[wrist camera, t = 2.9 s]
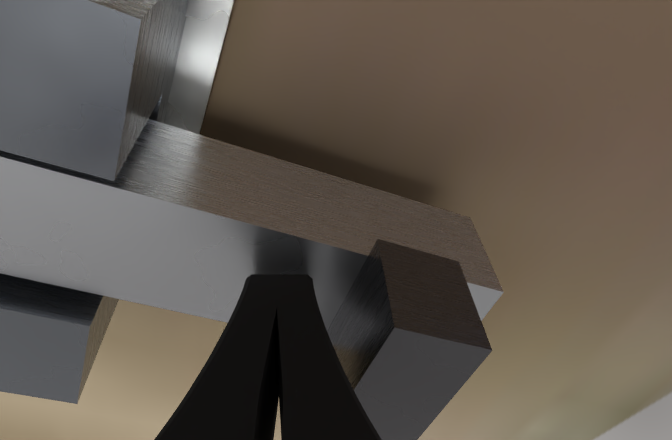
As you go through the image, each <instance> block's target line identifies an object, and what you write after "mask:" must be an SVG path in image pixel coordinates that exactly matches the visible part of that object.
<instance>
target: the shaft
mask: <svg viewBox="0 0 672 440" xmlns="http://www.w3.org/2000/svg"><path fill="white" fill-rule="evenodd" d="M0 273H1V274H6V275H10V276H15V277H19V278H24V279H29V280H33V281H38V282H43V283H47V284H52V285H56V286H61V287H66V288H70V289H75V290H79V291H84V292H89V293H93V294H98V295H103V296H107V297H112V298H116V299H121V300H126V301H130V302H135V303H140V304H144V305H149V306H153V307H158V308H163V309H167V310H172V311H176V312H181V313H186V314H190V315H195V316H200V317H204V318H209V319H213V320H218V321H223V322H227V323H228V322H229V319H230V317H231V315H232V313H233V311H234V309H235V307H236V304H237V302H238V300H239V297H240V295H241V292H242V290H243V287H244V284H245V280H246V278H247V277H249V276H250V275H251V274H308V275H309V276H310V277H311V278H312V279H313V285H314V291H315V295H316V299H317V303H318V306H319V310H320V313H321V316H322V319H323V322H324V324H325V327H326V330H327V332H328V335H329V337H330V340H331V342H332V345H333V347H334V349H335V352H336V354H337V356H338V359H339V361H340V363H341V365H342V367H343V370H344V372H345V374H346V376H347V378H348V380H349V382H350V384H351V386H352V388H353V390H354V392H355V394H356V396H357V398H358V399H359V401H360V403H361V405H362V407H363V409H364V410H365V412H366V414H367V416H368V418H369V419H370V421H371V423H372V424H373V426H374V428H375V429H376V431H377V433H378V434H379V436H380V438H381V439H382V440H417V439H418V438H419V437H420V436H421V435H422V433H423V432H424V431H425V430H426V429H427V427H428V426H429V425H430V424H431V423H432V421H433V420H434V419H435V418H436V417H437V415H438V414H439V413H440V412H441V411H442V410H443V408H444V407H445V406H446V405H447V404H448V402H449V401H450V400H451V399H452V398H453V396H454V395H455V394H456V393H457V392H458V390H459V389H460V388H461V387H462V386H463V385H464V383H465V382H466V381H467V380H468V379H469V377H470V376H471V375H472V374H473V373H474V371H475V370H476V369H477V368H478V367H479V365H480V364H481V363H482V362H483V361H484V360H485V358H486V357H487V356H488V355H489V354H490V352H491V351H492V349H491V346H490V343H489V341H488V338H487V335H486V333H485V330H484V327H483V325H482V322H481V321H482V319H483V318H484V317H485V315H486V314H487V313H488V312H489V310H490V309H491V308H492V306H493V305H494V304H495V303H496V301H497V300H498V299H499V298H500V296H501V295H502V294H503V290H502V287H501V285H500V283H499V281H498V278H497V276H496V274H495V272H494V269H493V267H492V265H491V263H490V261H489V258H488V256H487V254H486V252H485V249H484V247H483V245H482V243H481V240H480V238H479V236H478V234H477V232H476V229H475V227H474V225H473V223H472V220H471V218H470V217H467V216H464V215H460V214H457V213H454V212H451V211H447V210H444V209H441V208H437V207H434V206H431V205H428V204H424V203H421V202H418V201H415V200H411V199H408V198H405V197H402V196H398V195H395V194H392V193H389V192H385V191H382V190H379V189H376V188H372V187H369V186H366V185H363V184H359V183H356V182H353V181H350V180H346V179H343V178H340V177H337V176H333V175H330V174H327V173H324V172H320V171H317V170H314V169H311V168H307V167H304V166H301V165H297V164H294V163H291V162H288V161H284V160H281V159H278V158H275V157H271V156H268V155H265V154H262V153H258V152H255V151H252V150H249V149H245V148H242V147H239V146H236V145H232V144H229V143H226V142H223V141H219V140H216V139H213V138H210V137H206V136H203V135H200V134H197V133H193V132H190V131H187V130H184V129H180V128H177V127H174V126H170V125H167V124H164V123H161V122H157V121H154V120H151V119H148V121H147V122H146V124H145V126H144V128H143V130H142V132H141V133H140V135H139V137H138V139H137V141H136V142H135V144H134V146H133V148H132V150H131V152H130V153H129V155H128V157H127V159H126V161H125V162H124V164H123V166H122V168H121V170H120V172H119V173H118V175H117V177H116V179H115V181H111V180H107V179H104V178H100V177H96V176H93V175H89V174H85V173H82V172H78V171H74V170H71V169H67V168H63V167H60V166H56V165H52V164H49V163H45V162H41V161H38V160H34V159H30V158H27V157H23V156H19V155H15V154H12V153H8V152H4V151H1V150H0Z"/></svg>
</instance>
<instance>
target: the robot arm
mask: <svg viewBox="0 0 672 440" xmlns="http://www.w3.org/2000/svg"><path fill="white" fill-rule="evenodd" d="M278 399H279V402H280V419H281V436H282V440H382V439H381V438H380V436H379V434H378V433H377V431H376V429H375V428H374V426H373V424H372V423H371V421H370V419H369V418H368V416H367V414H366V412H365V410H364V409H363V407H362V405H361V403H360V401H359V399H358V398H357V396H356V394H355V392H354V390H353V388H352V386H351V384H350V382H349V380H348V378H347V376H346V374H345V372H344V370H343V367H342V365H341V363H340V361H339V359H338V356H337V354H336V352H335V349H334V347H333V345H332V342H331V340H330V337H329V335H328V332H327V330H326V327H325V324H324V322H323V319H322V316H321V313H320V310H319V306H318V303H317V299H316V295H315V291H314V285H313V279H312V278H311V277H310V276H309V275H308V274H251V275H250V276H249V277H247V278H246V280H245V284H244V287H243V290H242V292H241V295H240V297H239V300H238V302H237V304H236V307H235V309H234V311H233V313H232V315H231V317H230V319H229V322H228V324H227V326H226V328H225V329H224V331H223V333H222V335H221V337H220V339H219V341H218V342H217V344H216V346H215V348H214V350H213V352H212V354H211V355H210V357H209V359H208V360H207V362H206V364H205V365H204V367H203V369H202V370H201V372H200V373H199V375H198V377H197V378H196V380H195V382H194V383H193V385H192V386H191V388H190V390H189V391H188V393H187V394H186V396H185V397H184V399H183V400H182V402H181V403H180V405H179V406H178V408H177V409H176V411H175V412H174V413H173V415H172V416H171V418H170V419H169V420H168V422H167V423H166V425H165V426H164V427H163V429H162V430H161V431H160V433H159V434H158V436H157V437H156V438H155V440H273V438H274V430H275V422H276V415H277V407H278Z"/></svg>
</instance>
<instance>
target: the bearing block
mask: <svg viewBox="0 0 672 440" xmlns="http://www.w3.org/2000/svg"><path fill="white" fill-rule="evenodd" d="M233 4H234V0H0V150H1V151H4V152H8V153H12V154H15V155H19V156H23V157H27V158H30V159H34V160H38V161H41V162H45V163H49V164H52V165H56V166H60V167H63V168H67V169H71V170H74V171H78V172H82V173H85V174H89V175H93V176H96V177H100V178H104V179H107V180H111V181H115V179H116V177H117V175H118V173H119V172H120V170H121V168H122V166H123V164H124V162H125V161H126V159H127V157H128V155H129V153H130V152H131V150H132V148H133V146H134V144H135V142H136V141H137V139H138V137H139V135H140V133H141V132H142V130H143V128H144V126H145V124H146V122H147V121H148V119H151V120H154V121H157V122H161V123H164V124H167V125H170V126H174V127H177V128H180V129H184V130H187V131H190V132H193V133H197V134H200V131H201V127H202V123H203V119H204V115H205V111H206V108H207V104H208V100H209V96H210V92H211V88H212V85H213V81H214V77H215V73H216V69H217V65H218V62H219V58H220V54H221V50H222V46H223V42H224V39H225V35H226V31H227V27H228V23H229V19H230V16H231V12H232V8H233ZM118 300H119V299H116V298H112V297H107V296H103V295H98V294H93V293H89V292H84V291H79V290H75V289H70V288H66V287H61V286H56V285H52V284H47V283H43V282H38V281H33V280H29V279H24V278H19V277H15V276H10V275H6V274H1V273H0V391H2V392H8V393H14V394H20V395H26V396H32V397H38V398H45V399H51V400H57V401H63V402H69V403H75V404H77V403H78V400H79V398H80V395H81V393H82V390H83V388H84V385H85V383H86V380H87V378H88V375H89V373H90V370H91V368H92V365H93V363H94V360H95V358H96V355H97V353H98V350H99V348H100V345H101V343H102V340H103V338H104V335H105V333H106V330H107V328H108V325H109V322H110V320H111V317H112V315H113V312H114V310H115V307H116V305H117V302H118Z"/></svg>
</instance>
